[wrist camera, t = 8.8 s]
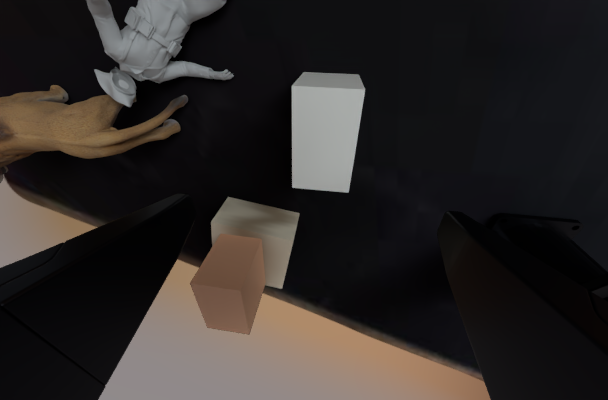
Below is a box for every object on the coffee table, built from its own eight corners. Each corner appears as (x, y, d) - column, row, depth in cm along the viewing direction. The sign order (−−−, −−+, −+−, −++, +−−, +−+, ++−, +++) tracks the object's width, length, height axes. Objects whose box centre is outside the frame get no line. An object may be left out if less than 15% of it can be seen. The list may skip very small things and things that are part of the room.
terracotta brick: (261, 238, 20) (240, 290, 16) (265, 282, 24) (249, 334, 19) (220, 233, 20) (189, 283, 16) (230, 277, 24) (207, 327, 20)
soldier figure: (298, -9, 14) (194, 149, 17) (255, -28, 16) (169, 115, 19) (175, -228, 8) (37, 92, 10) (130, -212, 10) (25, 50, 13)
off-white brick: (358, 74, 16) (365, 89, 12) (346, 158, 19) (348, 192, 15) (304, 72, 16) (291, 85, 12) (302, 155, 19) (292, 187, 15)
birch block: (299, 211, 23) (293, 241, 20) (288, 258, 27) (281, 288, 24) (229, 195, 23) (211, 221, 20) (228, 244, 27) (213, 273, 24)
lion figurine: (65, 152, 22) (-70, 212, 15) (16, 91, 19) (-182, 128, 12) (205, 128, 19) (122, 189, 12) (172, 51, 16) (34, 68, 9)
